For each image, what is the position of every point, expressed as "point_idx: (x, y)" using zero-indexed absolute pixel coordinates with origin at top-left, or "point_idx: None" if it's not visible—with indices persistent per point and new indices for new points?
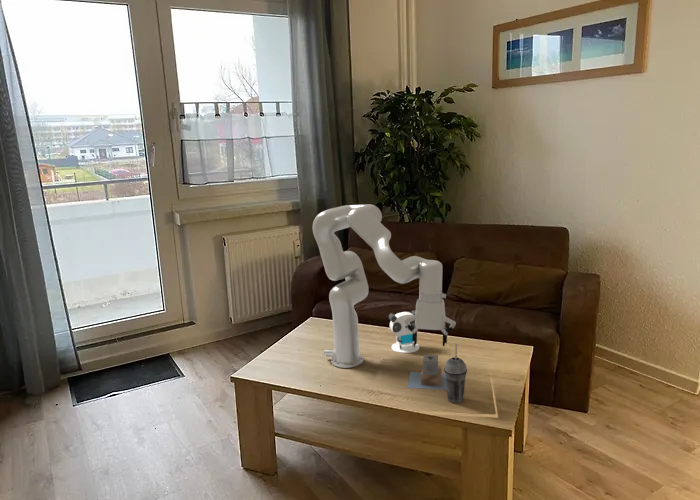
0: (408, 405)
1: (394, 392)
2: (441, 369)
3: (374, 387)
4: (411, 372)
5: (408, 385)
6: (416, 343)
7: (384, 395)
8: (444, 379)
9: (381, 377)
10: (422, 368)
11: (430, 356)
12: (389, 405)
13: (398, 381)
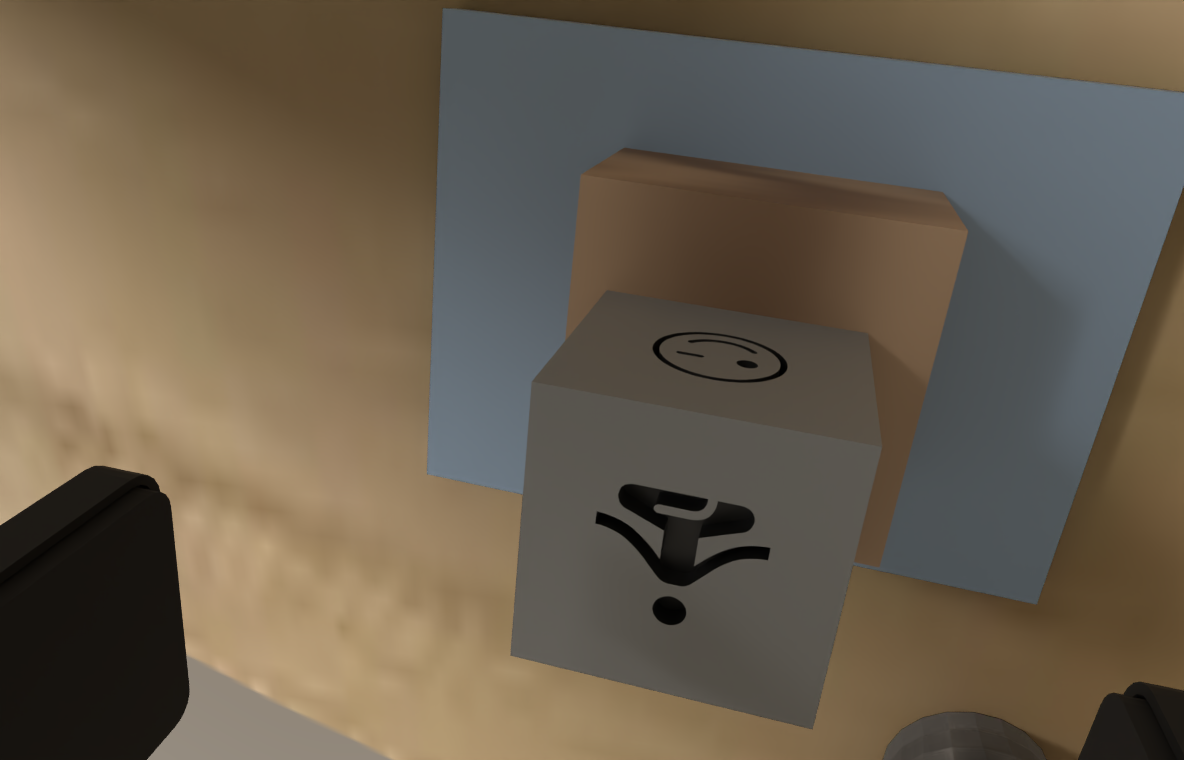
0: (461, 731)
1: (305, 481)
2: (923, 373)
3: (86, 351)
4: (464, 26)
5: (435, 421)
6: (183, 655)
7: (217, 526)
8: (959, 297)
9: (101, 94)
10: (583, 300)
11: (683, 478)
12: (291, 701)
13: (319, 221)
